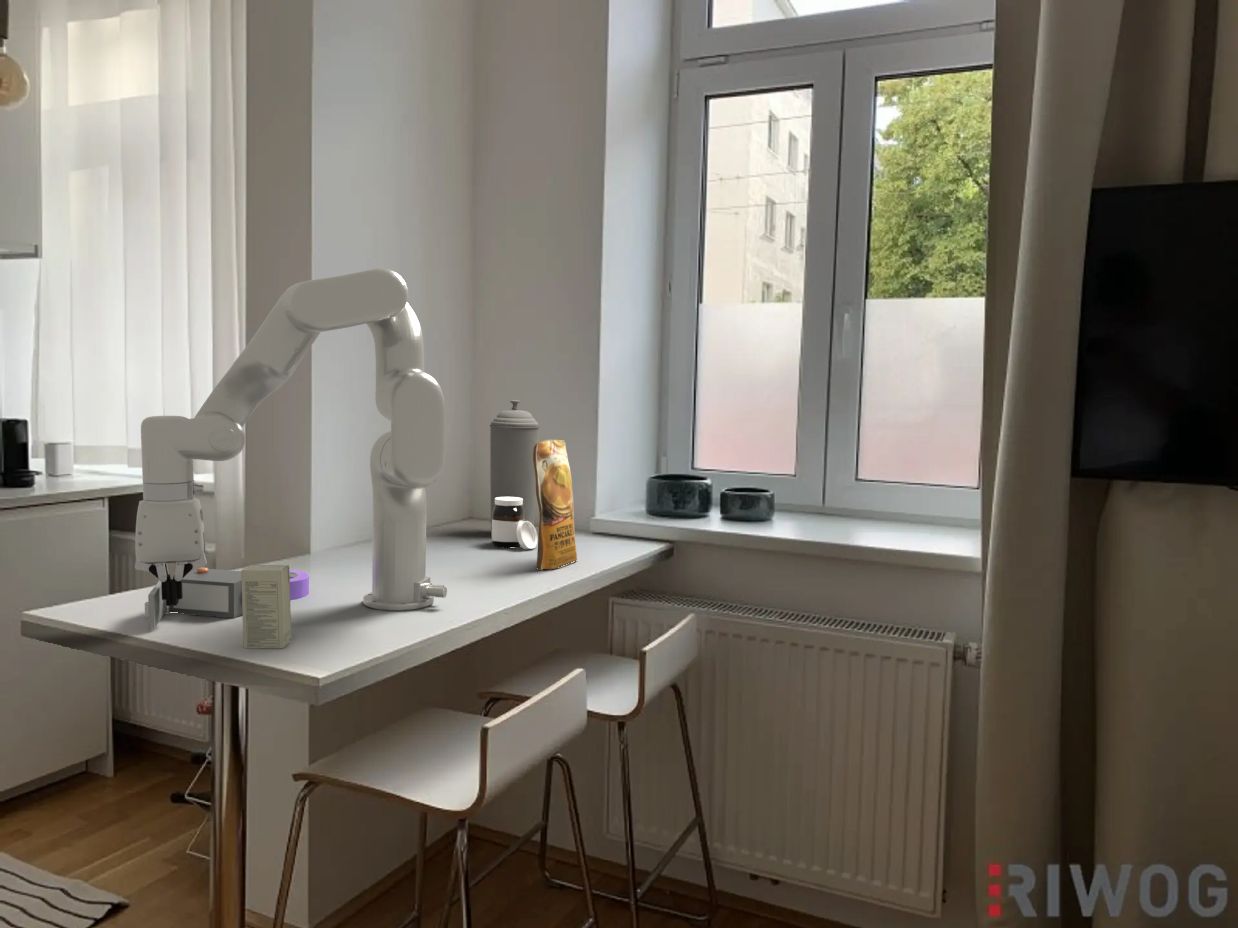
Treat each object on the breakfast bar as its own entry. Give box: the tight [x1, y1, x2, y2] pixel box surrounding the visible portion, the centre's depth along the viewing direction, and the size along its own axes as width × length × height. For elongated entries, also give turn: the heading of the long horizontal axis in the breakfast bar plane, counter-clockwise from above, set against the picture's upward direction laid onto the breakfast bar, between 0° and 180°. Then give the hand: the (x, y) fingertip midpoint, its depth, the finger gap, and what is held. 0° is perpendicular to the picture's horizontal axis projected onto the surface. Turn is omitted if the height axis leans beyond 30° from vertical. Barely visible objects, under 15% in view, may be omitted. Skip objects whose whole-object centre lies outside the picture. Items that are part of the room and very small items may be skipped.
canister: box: [489, 399, 540, 534], centre depth 257 cm, size 13×13×35 cm
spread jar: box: [491, 497, 538, 550], centre depth 241 cm, size 12×11×12 cm
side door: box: [144, 580, 168, 630], centre depth 163 cm, size 12×2×6 cm, turn 16°
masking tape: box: [289, 569, 310, 601], centre depth 185 cm, size 12×12×4 cm
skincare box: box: [240, 564, 292, 649], centre depth 152 cm, size 6×4×12 cm
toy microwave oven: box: [168, 566, 243, 619], centre depth 172 cm, size 13×9×7 cm
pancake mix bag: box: [533, 438, 578, 571], centre depth 221 cm, size 7×19×28 cm, turn 156°
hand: (172, 603), depth 162 cm, fingers closed
